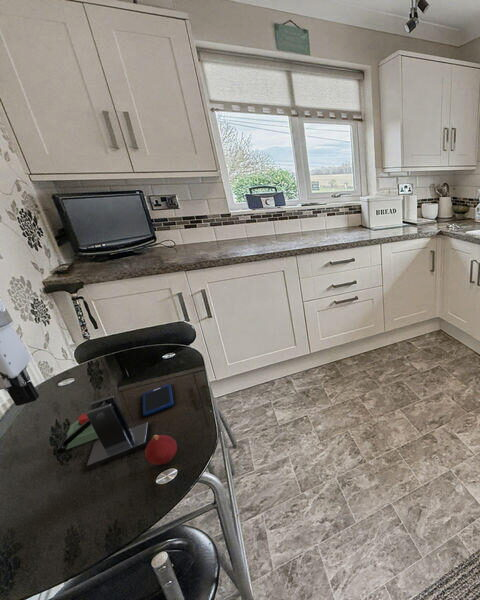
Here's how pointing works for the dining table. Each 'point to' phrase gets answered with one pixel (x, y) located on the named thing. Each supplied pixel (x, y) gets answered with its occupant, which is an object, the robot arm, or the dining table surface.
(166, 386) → the cell phone
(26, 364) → the robot arm
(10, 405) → the dining table surface
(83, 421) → the red button
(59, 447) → the press lever
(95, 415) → the lever bracket
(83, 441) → the button housing
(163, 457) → the onion
